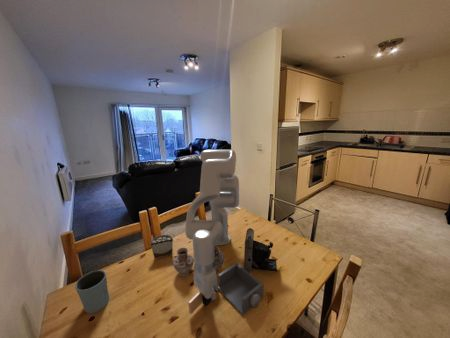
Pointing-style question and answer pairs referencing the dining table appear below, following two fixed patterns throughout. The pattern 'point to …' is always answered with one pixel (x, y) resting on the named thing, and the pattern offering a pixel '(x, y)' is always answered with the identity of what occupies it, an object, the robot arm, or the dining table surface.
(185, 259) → the pottery
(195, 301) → the door
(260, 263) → the vintage camera
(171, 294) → the dining table surface
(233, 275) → the grey open drawer box
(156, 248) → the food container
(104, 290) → the grey green cup
